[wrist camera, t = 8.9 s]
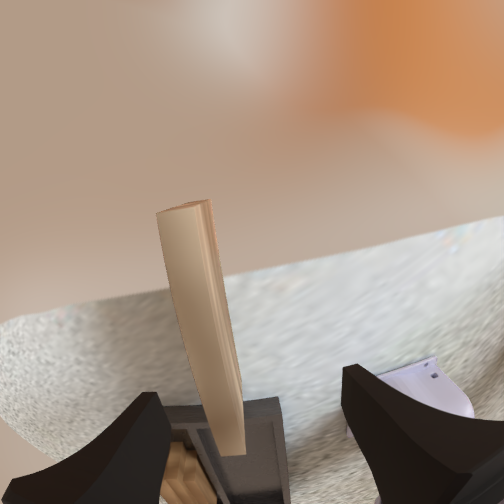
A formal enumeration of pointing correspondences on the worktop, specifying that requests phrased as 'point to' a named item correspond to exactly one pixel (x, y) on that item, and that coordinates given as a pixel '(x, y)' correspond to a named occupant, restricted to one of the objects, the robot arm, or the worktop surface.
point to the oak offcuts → (186, 478)
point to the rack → (239, 466)
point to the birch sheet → (204, 318)
